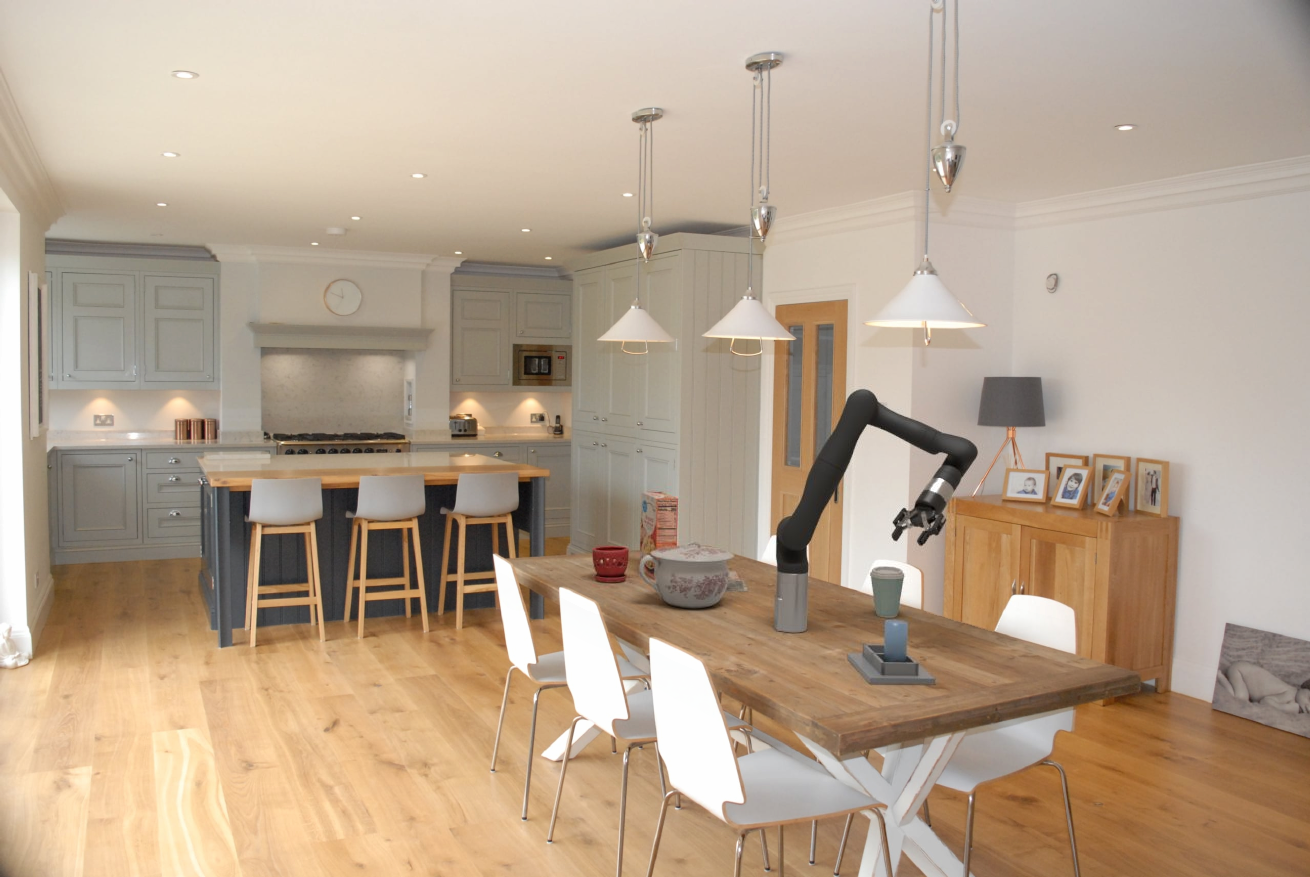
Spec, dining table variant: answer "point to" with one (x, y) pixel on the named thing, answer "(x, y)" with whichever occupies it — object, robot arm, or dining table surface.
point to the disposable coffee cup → (887, 590)
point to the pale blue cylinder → (895, 641)
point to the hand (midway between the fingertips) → (906, 541)
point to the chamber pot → (689, 574)
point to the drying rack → (888, 668)
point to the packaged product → (735, 582)
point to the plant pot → (610, 563)
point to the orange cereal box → (657, 525)
